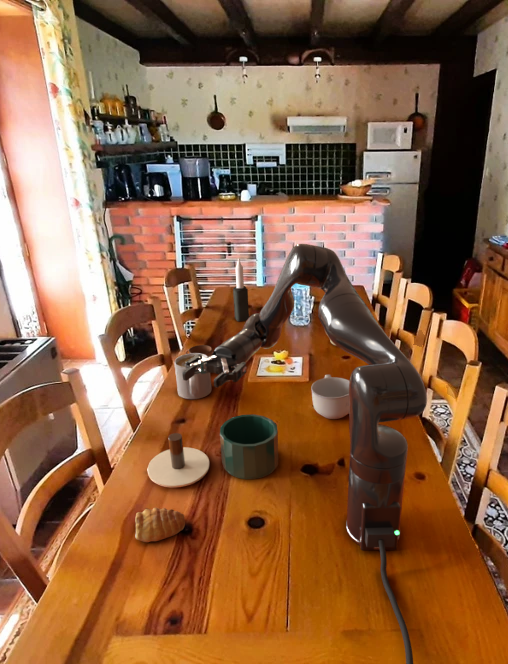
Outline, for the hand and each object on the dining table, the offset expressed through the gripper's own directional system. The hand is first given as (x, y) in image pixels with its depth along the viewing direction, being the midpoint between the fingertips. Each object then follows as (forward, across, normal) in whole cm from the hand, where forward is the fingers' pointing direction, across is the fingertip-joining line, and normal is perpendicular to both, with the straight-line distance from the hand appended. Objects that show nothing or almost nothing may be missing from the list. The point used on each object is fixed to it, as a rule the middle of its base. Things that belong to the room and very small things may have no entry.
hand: (199, 380), depth 111 cm
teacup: (-27, +23, +17) cm, 39 cm away
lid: (+11, 0, +16) cm, 20 cm away
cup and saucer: (-36, -24, +17) cm, 47 cm away
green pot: (+2, +13, +17) cm, 22 cm away
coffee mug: (-20, -16, +17) cm, 31 cm away
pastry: (+28, +7, +17) cm, 34 cm away
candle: (-81, -33, +18) cm, 89 cm away
